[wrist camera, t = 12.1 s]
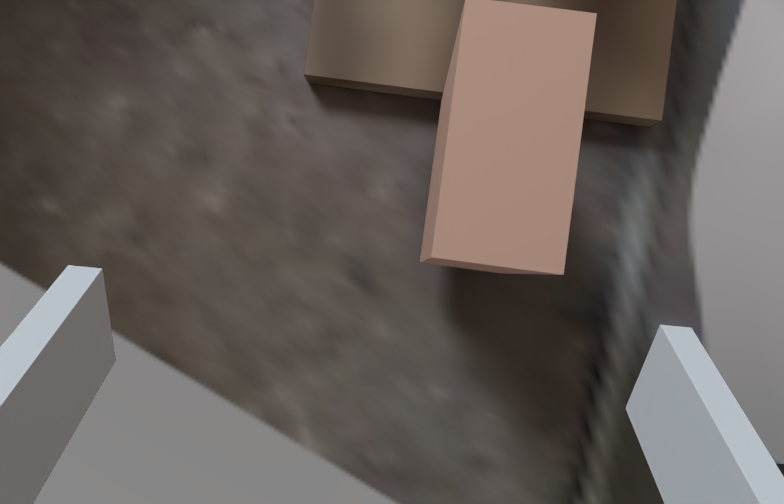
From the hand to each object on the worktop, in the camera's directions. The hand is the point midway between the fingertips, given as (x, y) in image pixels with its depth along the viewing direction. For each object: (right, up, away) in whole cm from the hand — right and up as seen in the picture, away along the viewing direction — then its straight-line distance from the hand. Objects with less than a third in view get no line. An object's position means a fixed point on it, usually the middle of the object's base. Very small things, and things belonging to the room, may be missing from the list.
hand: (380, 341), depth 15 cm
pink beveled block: (+4, +5, +16) cm, 17 cm away
